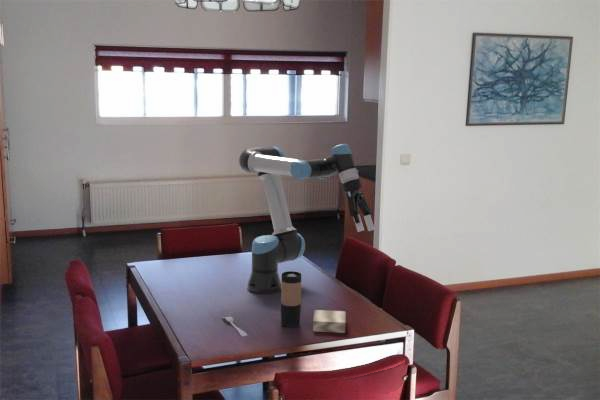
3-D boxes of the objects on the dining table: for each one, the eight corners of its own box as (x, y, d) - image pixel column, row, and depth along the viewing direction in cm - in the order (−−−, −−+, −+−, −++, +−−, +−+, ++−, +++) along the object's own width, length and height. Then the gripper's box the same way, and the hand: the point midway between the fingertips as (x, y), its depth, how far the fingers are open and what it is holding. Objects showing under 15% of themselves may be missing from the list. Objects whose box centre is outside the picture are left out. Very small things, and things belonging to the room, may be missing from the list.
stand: (313, 331, 237) (313, 321, 237) (314, 319, 249) (314, 309, 248) (345, 332, 237) (345, 322, 236) (345, 321, 248) (345, 311, 248)
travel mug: (279, 320, 247) (280, 271, 243) (299, 320, 248) (300, 271, 244) (281, 328, 240) (282, 277, 236) (301, 327, 240) (302, 277, 237)
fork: (241, 343, 231) (242, 336, 230) (219, 318, 248) (220, 312, 248) (248, 342, 233) (249, 335, 232) (226, 317, 250) (226, 311, 249)
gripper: (348, 176, 245) (365, 228, 242) (368, 179, 268) (383, 227, 265) (331, 182, 248) (347, 234, 245) (352, 185, 271) (367, 232, 268)
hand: (366, 230), depth 255 cm, fingers open, 13 cm apart
